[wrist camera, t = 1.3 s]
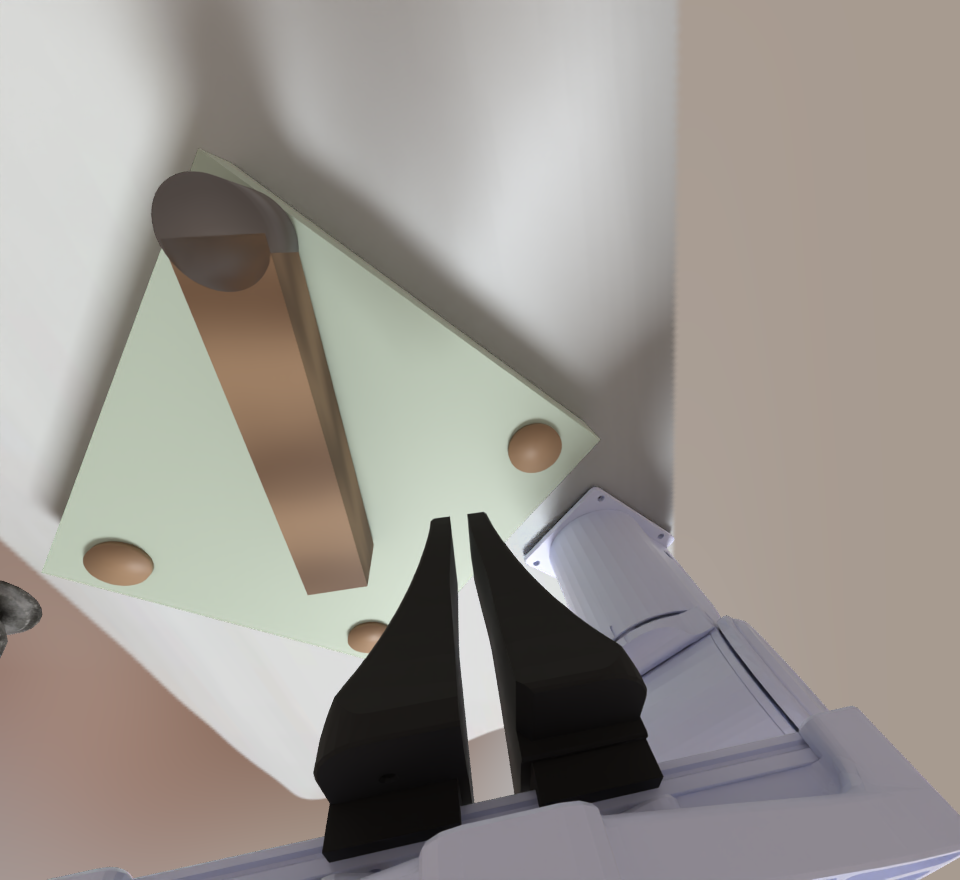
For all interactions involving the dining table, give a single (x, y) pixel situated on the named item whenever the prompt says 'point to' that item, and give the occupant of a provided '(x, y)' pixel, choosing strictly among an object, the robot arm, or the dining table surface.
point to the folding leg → (269, 366)
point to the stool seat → (371, 439)
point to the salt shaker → (16, 612)
